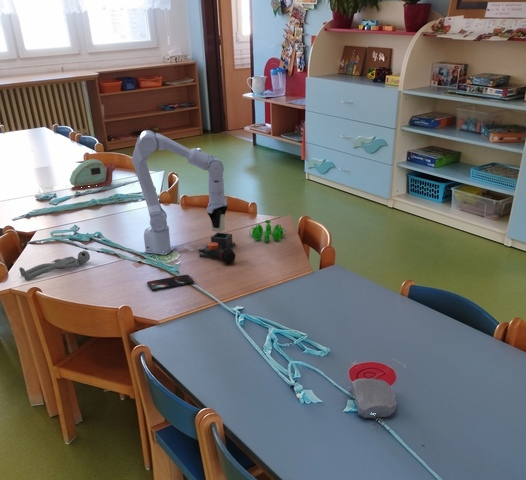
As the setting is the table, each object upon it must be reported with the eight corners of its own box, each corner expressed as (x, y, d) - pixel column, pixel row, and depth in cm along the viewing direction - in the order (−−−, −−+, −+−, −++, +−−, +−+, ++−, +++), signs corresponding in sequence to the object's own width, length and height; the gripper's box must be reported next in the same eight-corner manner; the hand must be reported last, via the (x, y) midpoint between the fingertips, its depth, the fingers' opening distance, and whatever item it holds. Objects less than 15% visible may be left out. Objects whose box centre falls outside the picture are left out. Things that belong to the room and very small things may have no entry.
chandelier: (266, 246, 228) (266, 229, 225) (242, 237, 238) (241, 220, 234) (293, 237, 237) (293, 221, 233) (269, 228, 246) (269, 213, 243)
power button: (206, 249, 219) (206, 245, 218) (210, 245, 222) (210, 241, 221) (215, 250, 218) (215, 246, 217) (220, 247, 221) (220, 242, 220)
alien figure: (16, 264, 203) (84, 246, 215) (20, 277, 206) (86, 258, 218) (23, 271, 198) (92, 252, 210) (27, 284, 200) (95, 265, 212)
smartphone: (194, 281, 198) (151, 289, 192) (194, 283, 198) (152, 291, 193) (187, 274, 203) (146, 281, 198) (187, 275, 204) (146, 283, 198)
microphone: (196, 260, 224) (230, 268, 210) (191, 247, 220) (224, 254, 207) (206, 252, 226) (240, 259, 213) (200, 240, 223) (235, 246, 209)
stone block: (384, 394, 144) (346, 389, 142) (390, 378, 141) (351, 373, 139) (397, 425, 134) (356, 420, 132) (404, 409, 131) (362, 404, 129)
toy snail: (73, 191, 299) (68, 164, 292) (69, 188, 305) (64, 161, 298) (119, 184, 311) (116, 158, 304) (114, 181, 316) (111, 155, 309)
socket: (211, 249, 226) (210, 237, 224) (217, 244, 231) (217, 232, 228) (226, 251, 224) (226, 239, 222) (232, 246, 229) (232, 234, 226)
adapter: (199, 257, 219) (199, 249, 218) (217, 243, 232) (216, 236, 230) (218, 259, 217) (218, 252, 215) (235, 245, 230) (235, 238, 228)
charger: (211, 230, 224) (211, 215, 220) (215, 228, 226) (214, 213, 223) (221, 232, 222) (220, 216, 219) (224, 229, 225) (224, 214, 222)
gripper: (218, 197, 209) (219, 233, 216) (233, 187, 221) (234, 221, 228) (200, 195, 212) (203, 231, 219) (216, 185, 223) (218, 219, 230)
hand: (218, 226), depth 223 cm, fingers closed on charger, 3 cm apart
